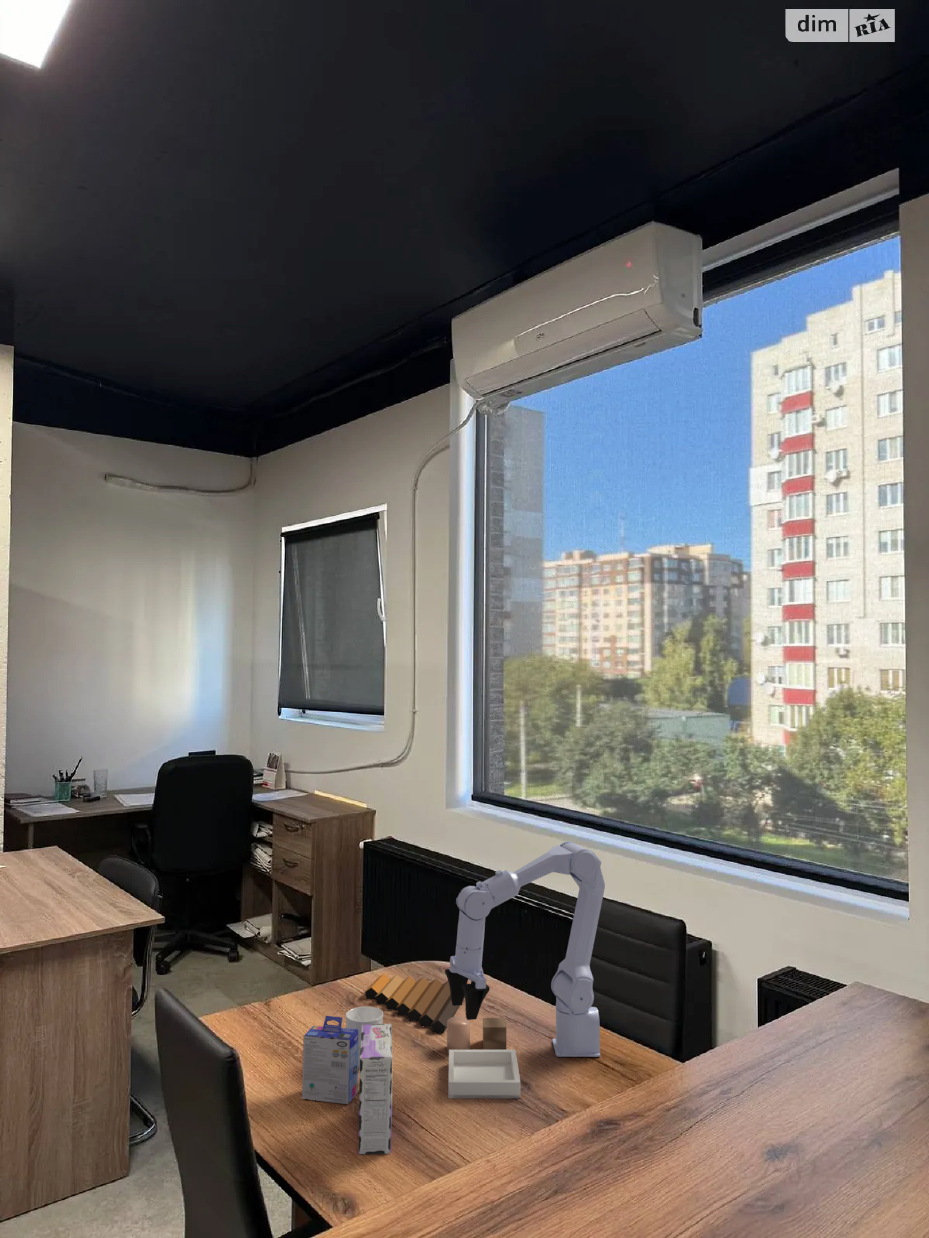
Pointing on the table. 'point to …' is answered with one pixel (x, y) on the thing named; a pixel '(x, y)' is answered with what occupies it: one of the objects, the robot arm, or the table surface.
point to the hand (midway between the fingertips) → (464, 1011)
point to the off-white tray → (483, 1074)
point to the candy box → (375, 1089)
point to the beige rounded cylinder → (458, 1034)
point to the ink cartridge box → (330, 1063)
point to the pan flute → (415, 1000)
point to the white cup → (363, 1021)
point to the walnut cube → (494, 1034)
